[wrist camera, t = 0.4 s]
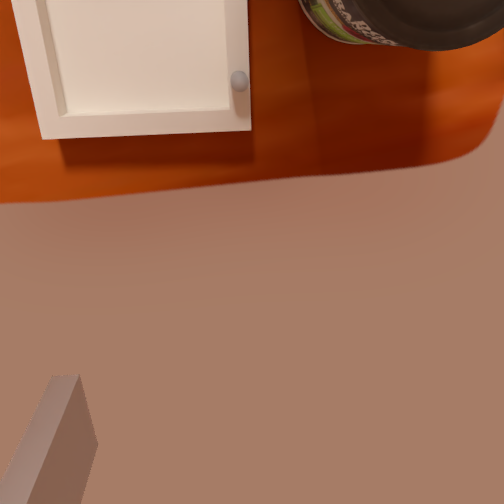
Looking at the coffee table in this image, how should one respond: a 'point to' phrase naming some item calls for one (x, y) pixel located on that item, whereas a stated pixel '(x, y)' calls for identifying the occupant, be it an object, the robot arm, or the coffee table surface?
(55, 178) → the coffee table surface
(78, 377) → the robot arm
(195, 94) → the frame
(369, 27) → the coffee can
